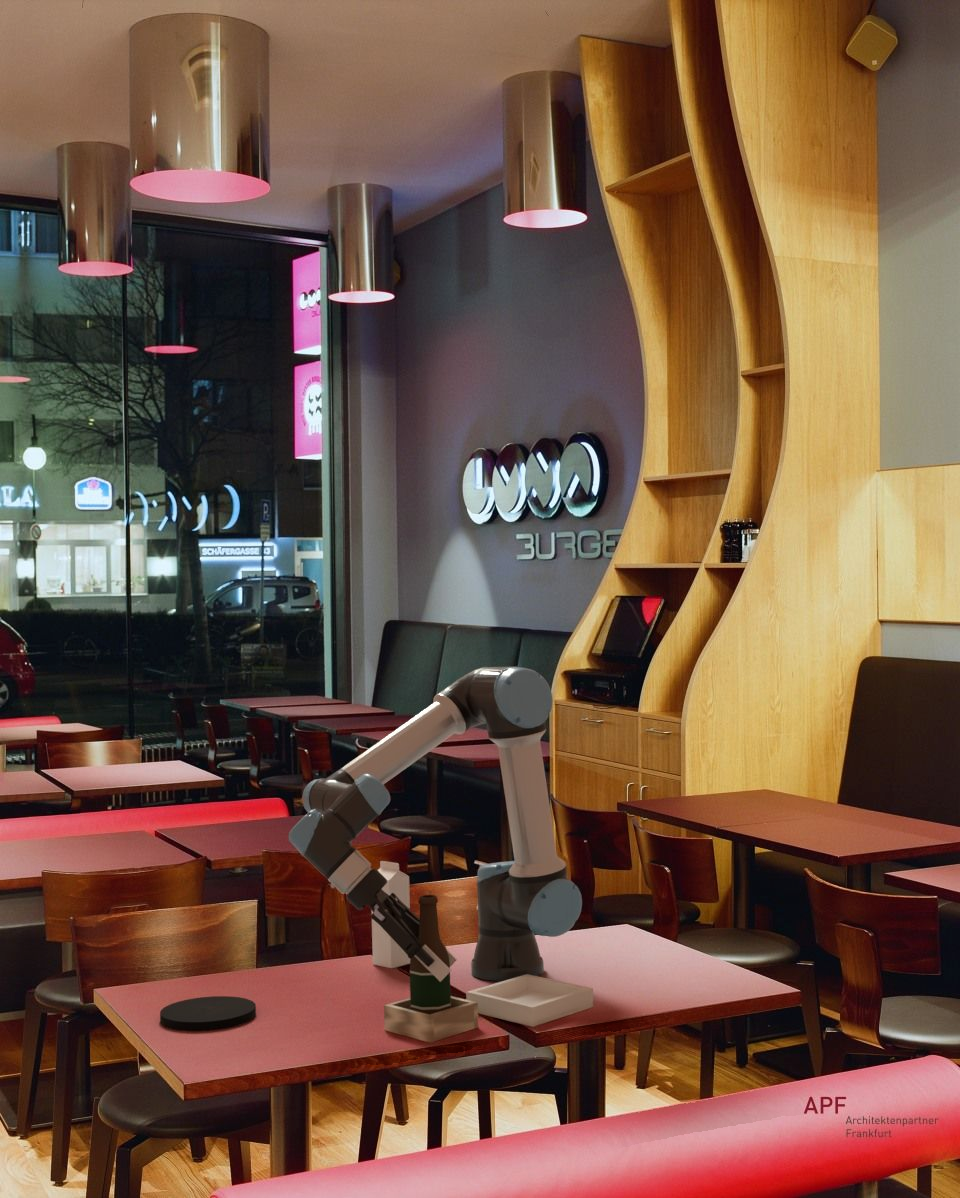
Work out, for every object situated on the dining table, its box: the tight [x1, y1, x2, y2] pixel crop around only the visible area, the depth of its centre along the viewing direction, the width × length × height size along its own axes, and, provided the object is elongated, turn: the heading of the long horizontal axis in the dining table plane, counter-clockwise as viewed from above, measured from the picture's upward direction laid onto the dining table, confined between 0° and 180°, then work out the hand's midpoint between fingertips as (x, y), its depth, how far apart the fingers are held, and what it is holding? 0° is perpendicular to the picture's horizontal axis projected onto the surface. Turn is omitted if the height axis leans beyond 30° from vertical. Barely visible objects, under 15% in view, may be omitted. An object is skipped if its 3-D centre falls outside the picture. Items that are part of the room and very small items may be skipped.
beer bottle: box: [409, 894, 452, 1015], centre depth 255 cm, size 8×8×24 cm
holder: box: [383, 995, 479, 1043], centre depth 255 cm, size 12×12×4 cm
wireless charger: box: [159, 995, 257, 1032], centre depth 266 cm, size 18×18×2 cm
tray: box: [465, 974, 594, 1028], centre depth 266 cm, size 17×17×4 cm
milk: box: [371, 860, 411, 969], centre depth 304 cm, size 6×6×22 cm
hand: (448, 970), depth 255 cm, fingers closed on beer bottle, 7 cm apart
